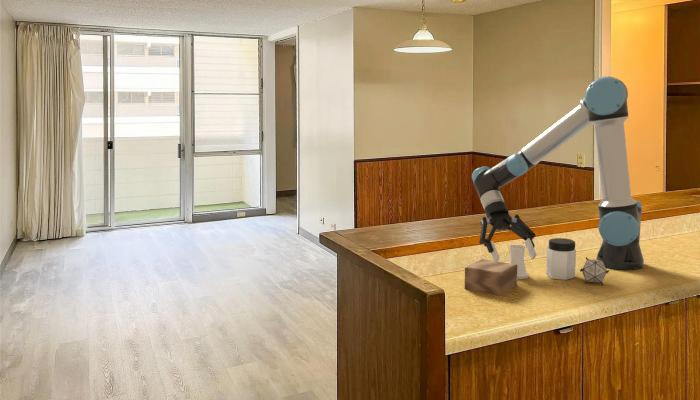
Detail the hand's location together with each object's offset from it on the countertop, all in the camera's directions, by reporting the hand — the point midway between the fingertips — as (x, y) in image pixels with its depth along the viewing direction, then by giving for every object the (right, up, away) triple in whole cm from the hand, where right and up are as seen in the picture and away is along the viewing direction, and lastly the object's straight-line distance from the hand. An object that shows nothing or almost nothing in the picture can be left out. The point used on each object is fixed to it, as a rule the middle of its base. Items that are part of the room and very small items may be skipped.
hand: (515, 258), depth 196 cm
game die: (+23, -7, -8) cm, 25 cm away
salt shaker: (+1, -6, +1) cm, 6 cm away
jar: (+15, -6, 0) cm, 16 cm away
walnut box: (-11, -8, -10) cm, 17 cm away
